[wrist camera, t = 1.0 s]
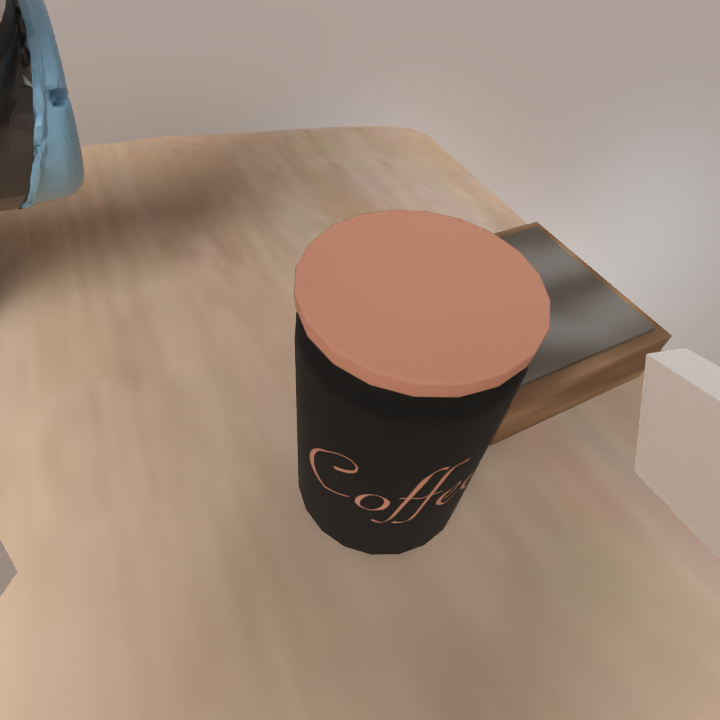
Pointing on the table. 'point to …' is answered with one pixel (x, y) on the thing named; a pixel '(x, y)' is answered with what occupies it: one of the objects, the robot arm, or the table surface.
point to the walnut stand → (576, 334)
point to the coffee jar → (405, 369)
